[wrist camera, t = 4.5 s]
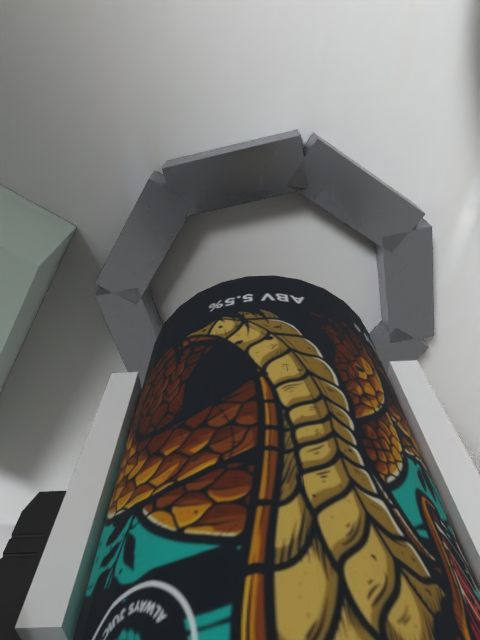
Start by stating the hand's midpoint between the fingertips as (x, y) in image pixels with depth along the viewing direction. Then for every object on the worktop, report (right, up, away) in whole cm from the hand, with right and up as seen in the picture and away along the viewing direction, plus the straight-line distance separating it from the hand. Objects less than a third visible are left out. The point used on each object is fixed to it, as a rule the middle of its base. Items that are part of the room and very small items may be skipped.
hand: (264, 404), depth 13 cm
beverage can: (0, +1, +2) cm, 2 cm away
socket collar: (0, +3, +6) cm, 7 cm away
